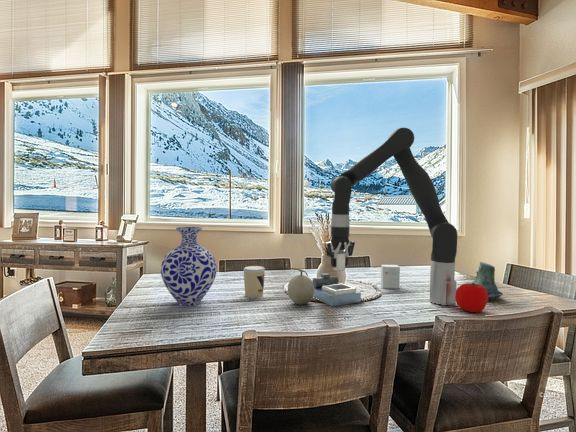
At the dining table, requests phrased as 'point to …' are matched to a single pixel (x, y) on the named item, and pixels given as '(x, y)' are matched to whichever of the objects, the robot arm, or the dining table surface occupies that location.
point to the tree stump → (487, 280)
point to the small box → (390, 276)
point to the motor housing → (334, 291)
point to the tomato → (471, 297)
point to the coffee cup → (254, 281)
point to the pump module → (340, 261)
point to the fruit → (300, 288)
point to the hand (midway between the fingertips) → (339, 266)
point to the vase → (188, 269)
